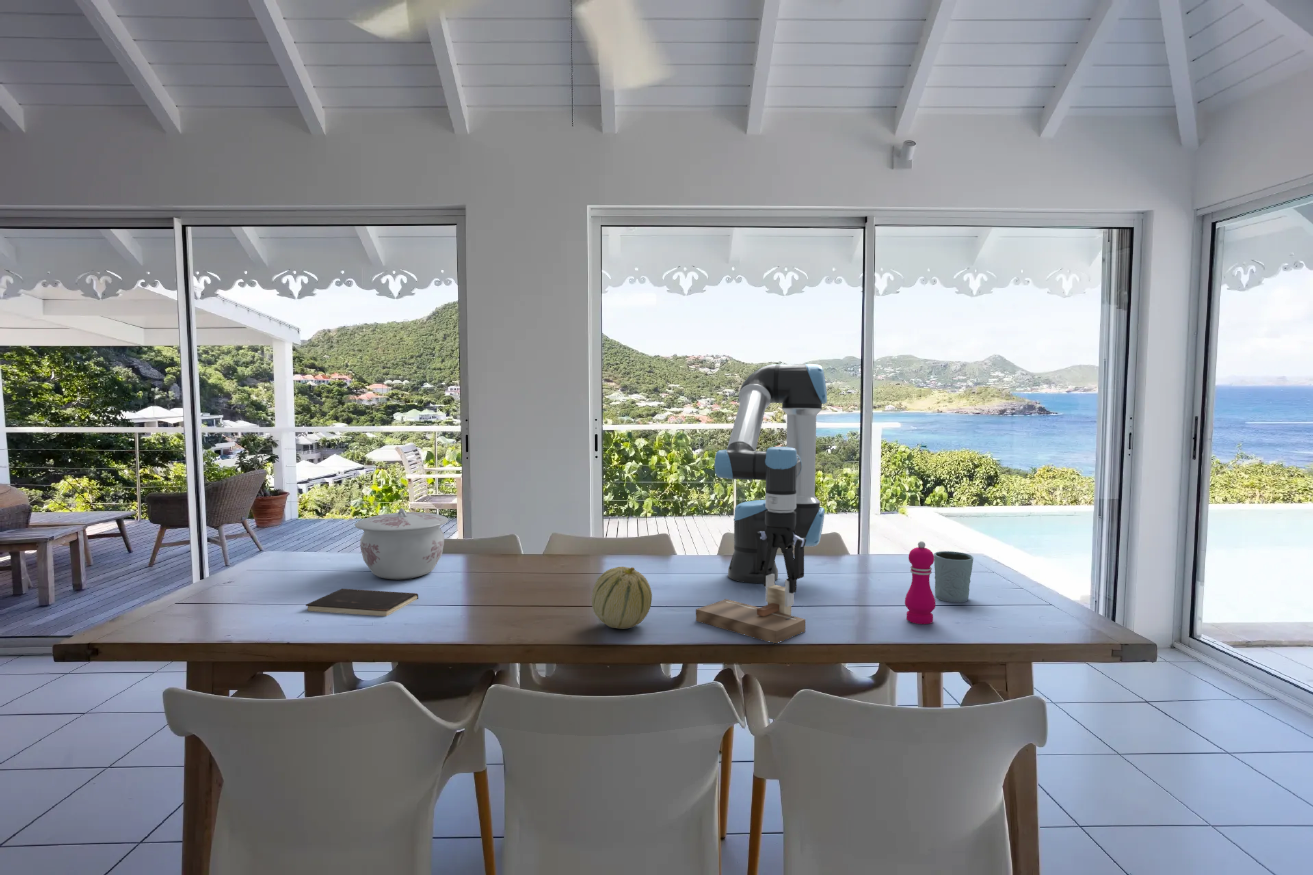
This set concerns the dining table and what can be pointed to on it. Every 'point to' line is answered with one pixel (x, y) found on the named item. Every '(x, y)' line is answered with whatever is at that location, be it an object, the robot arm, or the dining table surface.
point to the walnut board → (750, 621)
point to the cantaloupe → (621, 597)
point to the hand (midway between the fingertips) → (779, 602)
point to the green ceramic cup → (952, 575)
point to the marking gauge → (775, 602)
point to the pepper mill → (920, 586)
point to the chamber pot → (402, 543)
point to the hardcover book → (362, 602)
